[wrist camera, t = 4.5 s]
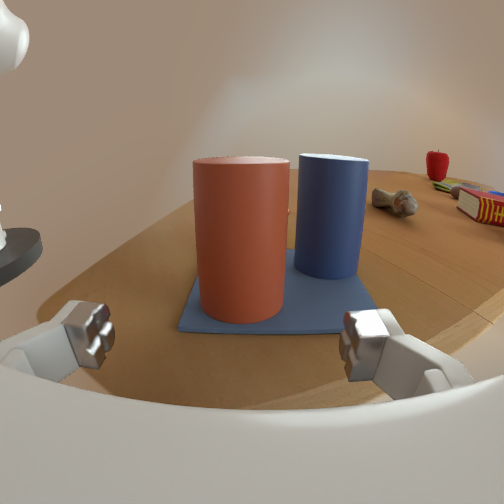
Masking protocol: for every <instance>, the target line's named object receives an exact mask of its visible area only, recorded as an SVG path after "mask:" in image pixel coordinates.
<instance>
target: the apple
mask: <svg viewBox="0 0 504 504" xmlns="http://www.w3.org/2000/svg"><path fill="white" fill-rule="evenodd" d="M426 164H427V175H428V176H429V178H430V179H432V180H436V181H442V180H443V179H445V178H446V173H447V169H448V165H449V157H448V155H447V154H445V153H440V152H433V151H430V152H428V153H427V156H426Z"/></svg>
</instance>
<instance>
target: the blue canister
mask: <svg viewBox="0 0 504 504" xmlns="http://www.w3.org/2000/svg"><path fill="white" fill-rule="evenodd" d="M368 167H369V160H366V159H362V158H356V157H349V156H339V155H327V154H300V155H299V175H298V200H297V221H296V239H295V256H294V265H295V267H296V269H298V270H299V271H300V272H302V273H304V274H306V275H308V276H311V277H315V278H320V279H330V280H335V279H344V278H348V277H350V276H352V275H354V274H355V273H356V272H357V268H358V261H359V254H360V247H361V239H362V231H363V223H364V214H365V204H366V194H367V182H368Z"/></svg>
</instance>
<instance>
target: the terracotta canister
mask: <svg viewBox="0 0 504 504" xmlns="http://www.w3.org/2000/svg"><path fill="white" fill-rule="evenodd" d="M289 166H290V162H289V160H286V159H281V158H273V157H255V156H253V157H252V156H233V157H214V158H213V157H212V158H204V159H198V160H195V161H193V188H194V213H195V232H196V249H197V265H198V278H199V291H200V303H201V307H202V309H203V310H204V312H205V313H206V314H208V315H209V316H210V317H212V318H214V319H216V320H219V321H222V322H226V323H232V324H251V323H257V322H261V321H264V320H267V319H269V318H271V317H273V316H274V315H276V314H277V313H278V312H279V311H280V310H281V308H282V306H283V298H284V282H285V264H286V245H287V224H288V199H289Z"/></svg>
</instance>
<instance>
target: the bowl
mask: <svg viewBox="0 0 504 504" xmlns="http://www.w3.org/2000/svg"><path fill="white" fill-rule="evenodd" d="M488 193H491V194H495V195H499V196H504V193H500V192H495V191H489V192H488Z"/></svg>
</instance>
